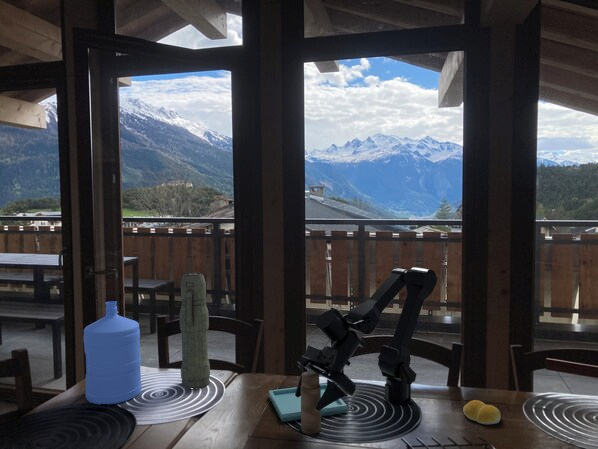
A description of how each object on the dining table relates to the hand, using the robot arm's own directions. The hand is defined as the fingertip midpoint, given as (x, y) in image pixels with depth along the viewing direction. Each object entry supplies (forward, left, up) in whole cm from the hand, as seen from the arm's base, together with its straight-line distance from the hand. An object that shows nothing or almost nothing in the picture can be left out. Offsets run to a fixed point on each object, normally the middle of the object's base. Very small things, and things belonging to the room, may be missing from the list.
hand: (306, 402), depth 118 cm
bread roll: (-46, +6, -8) cm, 47 cm away
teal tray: (-4, -14, -7) cm, 17 cm away
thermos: (+25, -39, -7) cm, 47 cm away
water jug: (+49, -38, -7) cm, 62 cm away
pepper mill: (-1, 0, -7) cm, 7 cm away
